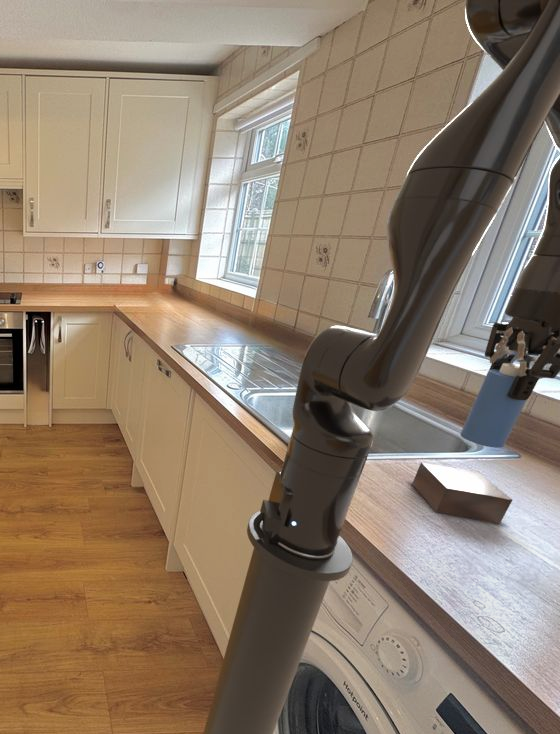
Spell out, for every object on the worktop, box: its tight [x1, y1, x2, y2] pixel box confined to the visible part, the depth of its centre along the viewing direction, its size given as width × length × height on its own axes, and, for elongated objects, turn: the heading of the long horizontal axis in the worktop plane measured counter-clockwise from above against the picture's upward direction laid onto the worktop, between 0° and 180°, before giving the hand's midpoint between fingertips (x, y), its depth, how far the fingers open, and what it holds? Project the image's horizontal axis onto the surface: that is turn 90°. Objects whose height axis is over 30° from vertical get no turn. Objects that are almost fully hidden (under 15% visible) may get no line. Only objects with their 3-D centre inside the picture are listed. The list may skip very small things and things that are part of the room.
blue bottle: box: [459, 363, 531, 449], centre depth 68 cm, size 5×5×14 cm
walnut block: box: [411, 462, 513, 525], centre depth 74 cm, size 9×9×5 cm
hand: (504, 391), depth 67 cm, fingers closed on blue bottle, 5 cm apart
